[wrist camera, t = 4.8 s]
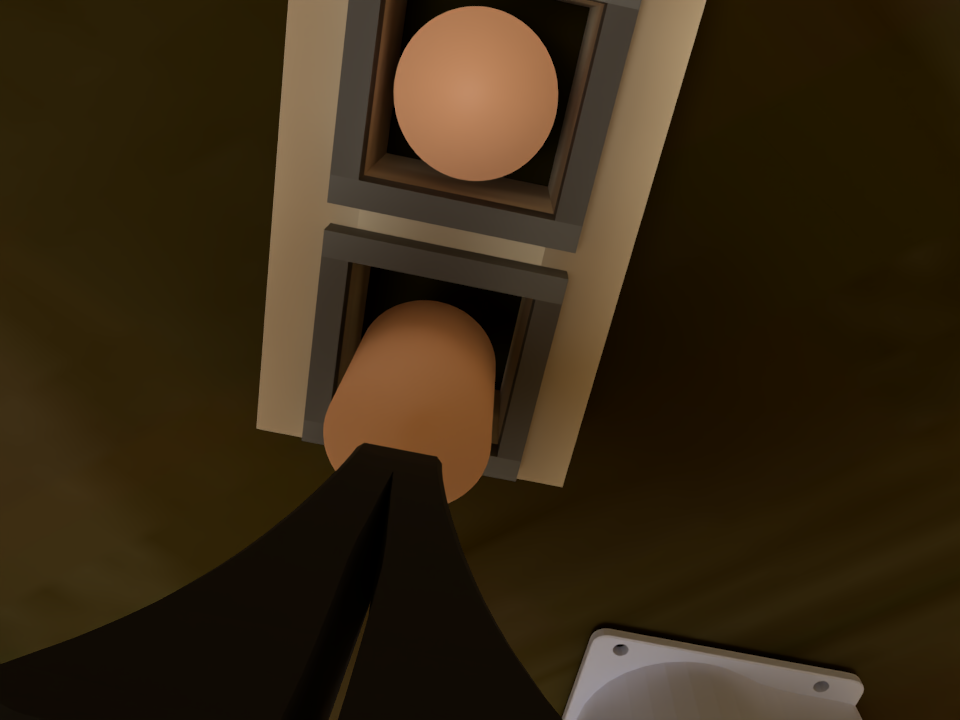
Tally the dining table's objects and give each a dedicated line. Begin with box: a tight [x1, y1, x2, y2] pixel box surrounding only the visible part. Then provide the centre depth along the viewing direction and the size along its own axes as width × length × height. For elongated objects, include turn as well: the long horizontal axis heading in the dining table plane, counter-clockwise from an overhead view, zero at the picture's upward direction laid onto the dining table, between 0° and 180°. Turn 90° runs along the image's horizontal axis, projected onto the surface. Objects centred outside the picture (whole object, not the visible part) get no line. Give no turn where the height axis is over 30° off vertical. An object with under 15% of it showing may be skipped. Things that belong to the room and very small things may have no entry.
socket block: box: [256, 0, 706, 487], centre depth 17 cm, size 8×12×4 cm, turn 169°
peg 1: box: [394, 6, 558, 181], centre depth 16 cm, size 3×3×3 cm
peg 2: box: [323, 300, 496, 503], centre depth 15 cm, size 3×3×3 cm
